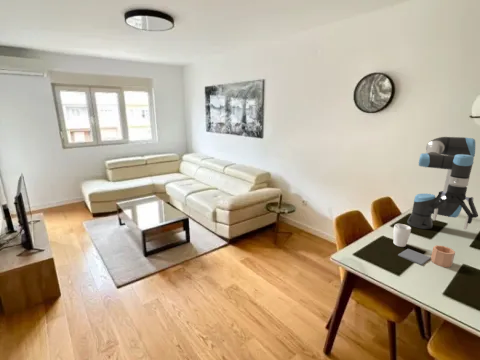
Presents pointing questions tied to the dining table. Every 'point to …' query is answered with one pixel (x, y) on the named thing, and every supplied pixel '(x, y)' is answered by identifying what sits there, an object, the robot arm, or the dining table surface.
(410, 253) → the mat
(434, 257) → the pot
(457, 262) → the dining table surface
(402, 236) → the cup
